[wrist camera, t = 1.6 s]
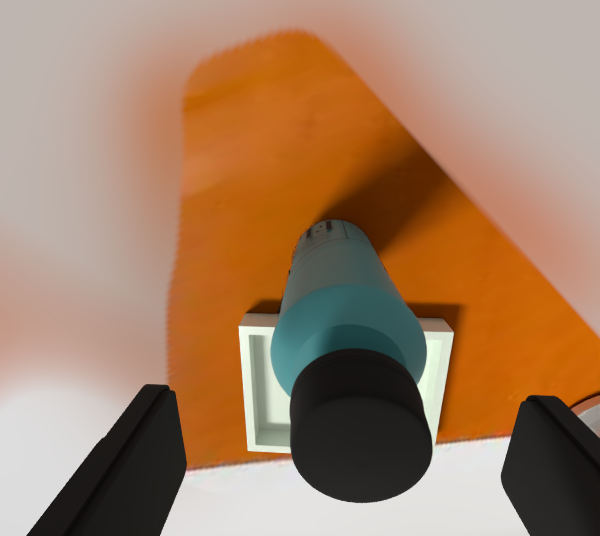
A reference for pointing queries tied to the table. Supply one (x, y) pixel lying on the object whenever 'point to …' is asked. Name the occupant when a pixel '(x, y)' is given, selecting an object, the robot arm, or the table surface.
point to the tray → (275, 402)
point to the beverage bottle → (350, 369)
